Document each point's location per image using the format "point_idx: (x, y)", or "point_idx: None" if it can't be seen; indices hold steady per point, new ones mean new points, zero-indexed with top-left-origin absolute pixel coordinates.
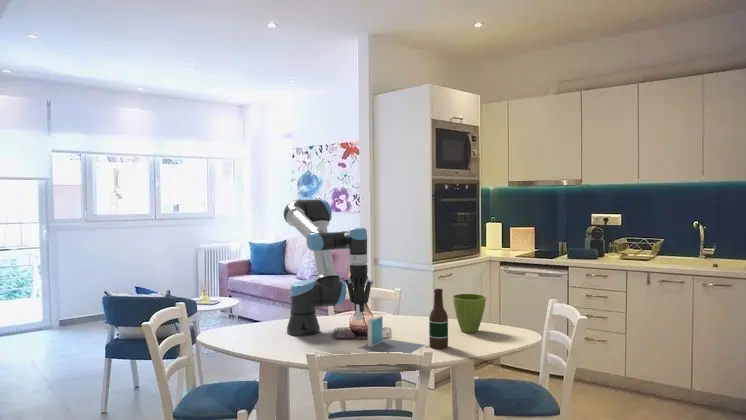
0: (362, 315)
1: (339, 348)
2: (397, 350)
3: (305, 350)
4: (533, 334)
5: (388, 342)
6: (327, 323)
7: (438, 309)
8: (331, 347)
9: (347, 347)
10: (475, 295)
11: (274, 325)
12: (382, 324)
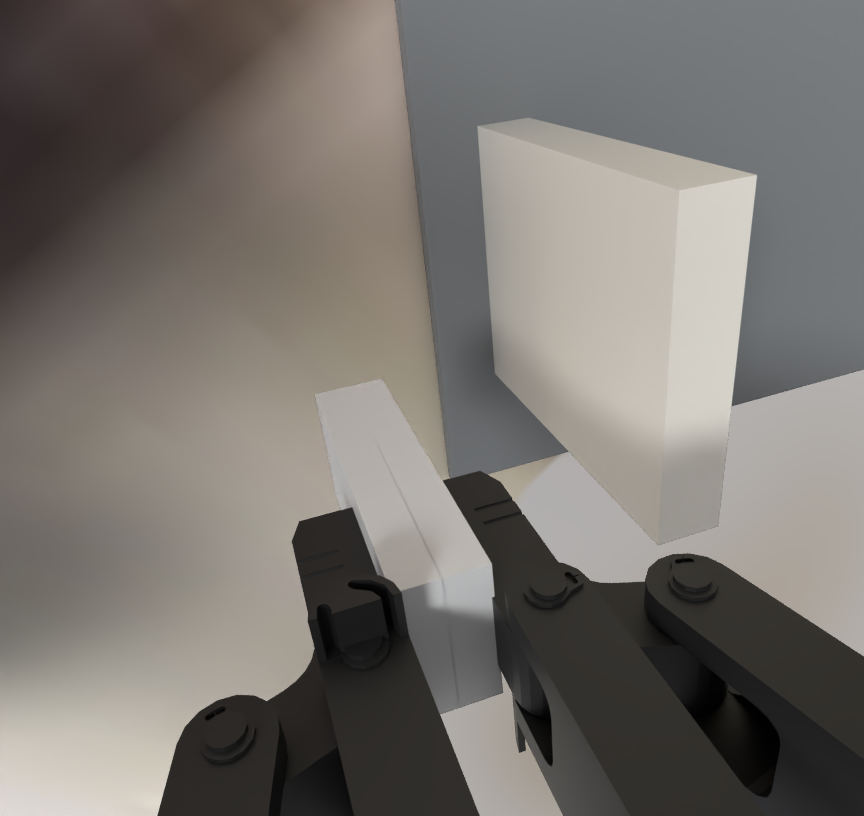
0: (400, 413)
1: (284, 569)
2: (797, 289)
3: (95, 797)
4: None
5: (604, 102)
6: None
7: None
8: (193, 604)
9: (319, 499)
10: None
11: None
12: (654, 150)
